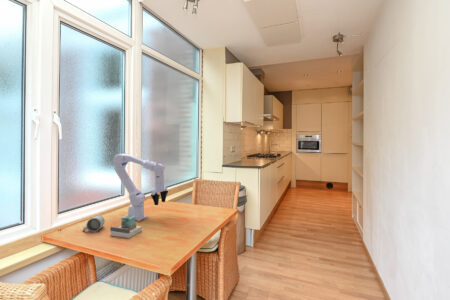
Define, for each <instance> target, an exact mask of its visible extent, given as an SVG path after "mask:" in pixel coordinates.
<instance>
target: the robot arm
mask: <svg viewBox="0 0 450 300" xmlns="http://www.w3.org/2000/svg"><path fill="white" fill-rule="evenodd" d="M112 162H113V163H114V164H113V165H114V172H115V173H116V174H117V176H118V178H119V179H120V181H121V183H122V184H123V186H124V188H125V190H126V192H128V198H129V202H130V205H129V206H128V209H127V213H128V215H127V216H135V221H137V222H139V221H142V220H143V219H146V218H148V215H145V200H146V196H145V194H144V193H143V192H141V190H139V189H137V187H136V185H135V184H134V182H133V180H132V179H131V177H130V175H129V174H128V172H127V171H126V165H128V163H130V162H131V163H134V164H136V165H141V166H142V167H143V169H146V170H149V171H151V172H153V173H154V190H152V191H150V192H151V193H150V197H151V198H152V200H153V203H154V206H159V203H160V202H159V201H161V202H162V203H165V202H166V199H167V196H168V194H169V190H168V186H165V172H164V171H165V170H166V168H165V165H164V164H162V163H158V161H157V162H155V161H152V160H151V159H145V160H144V159H142V158H139V157H137V156H134V155H132V154H130V153H127V152H126V153H124V152H123V153H119V154H118V153H117V154H116V155H114V157H113V159H112ZM160 199H161V200H160Z"/></svg>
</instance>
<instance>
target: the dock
mask: <svg viewBox="0 0 450 300" xmlns="http://www.w3.org/2000/svg"><path fill="white" fill-rule="evenodd" d="M109 229H110V236H113V237H118V238H125V239H129V238H131V237H134V236H136V235H137V234H139V233H140V232H142V226H140V225H136V228H134V229H132V230H130V229H126V228H121V225H120V226H118V227H117V226H110V228H109Z"/></svg>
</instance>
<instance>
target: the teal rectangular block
mask: <svg viewBox="0 0 450 300" xmlns="http://www.w3.org/2000/svg"><path fill="white" fill-rule="evenodd" d="M120 219H121V225H120V226H121V228H126V229H130V230H132V229H134V228H136V226H137V224H136V221H137V220H135V216H128V215H125V216H122V217H121V218H120Z"/></svg>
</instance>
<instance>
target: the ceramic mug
mask: <svg viewBox="0 0 450 300" xmlns="http://www.w3.org/2000/svg"><path fill="white" fill-rule="evenodd" d="M105 219H106V218H104V216H102V215H99V214H98V215H95V216H92V218H91V217H90V218H89V220H88V221H87V222H86V225H85V226H84V227H83V228H82V230H83V231H84V232H85V231H87V230H88V231H89V232H91V233H95V232H98V231H99V230H100V229H101V228H102V227H103V226H104V225H105V222H106V220H105Z"/></svg>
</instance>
